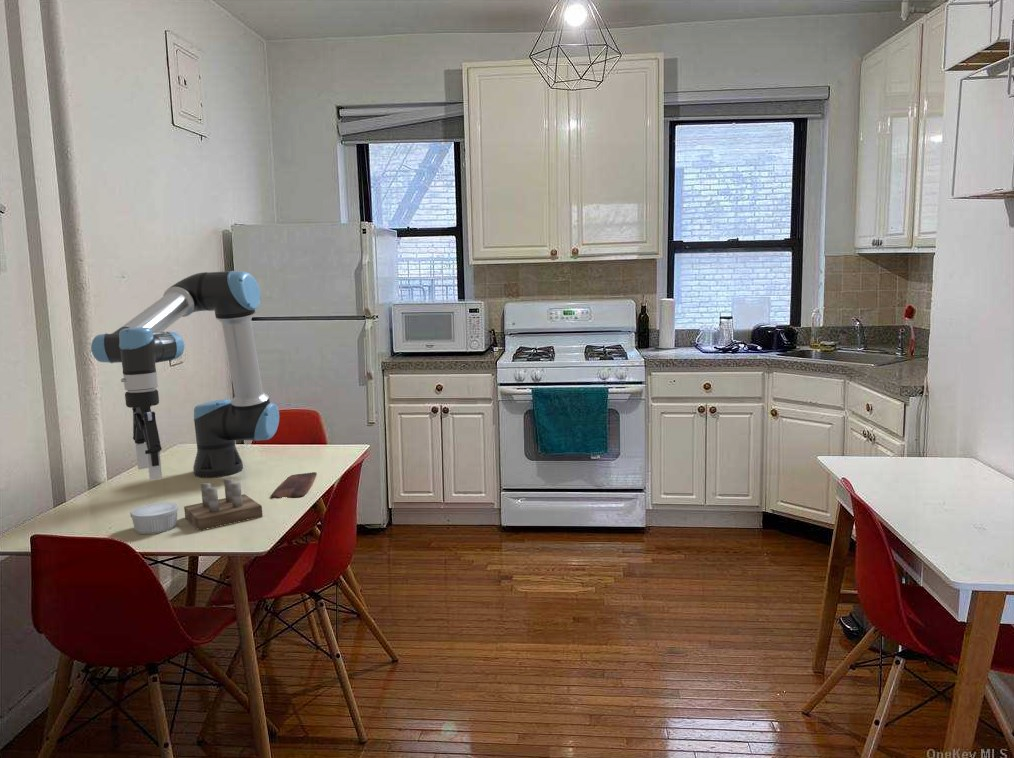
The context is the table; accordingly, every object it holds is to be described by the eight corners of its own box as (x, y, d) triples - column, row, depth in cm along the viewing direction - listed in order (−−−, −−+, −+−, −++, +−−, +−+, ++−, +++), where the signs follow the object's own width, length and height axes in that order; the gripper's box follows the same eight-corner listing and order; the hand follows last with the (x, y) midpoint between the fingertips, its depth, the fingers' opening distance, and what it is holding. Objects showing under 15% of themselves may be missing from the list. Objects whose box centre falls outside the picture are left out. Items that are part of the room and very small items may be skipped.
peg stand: (185, 517, 204) (181, 484, 203) (245, 504, 214) (242, 473, 212) (199, 530, 193) (196, 496, 192) (262, 516, 203) (259, 483, 201)
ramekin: (162, 536, 190) (160, 516, 189) (122, 535, 192) (119, 515, 191) (188, 521, 201) (186, 502, 200) (150, 520, 203) (148, 501, 202)
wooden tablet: (289, 471, 244) (320, 465, 245) (290, 478, 245) (321, 472, 245) (268, 496, 218) (303, 490, 218) (269, 503, 219) (304, 497, 219)
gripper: (115, 386, 199) (123, 466, 202) (135, 397, 179) (144, 485, 182) (146, 383, 204) (154, 462, 207) (169, 393, 184) (177, 480, 187)
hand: (149, 473), depth 194 cm, fingers open, 13 cm apart
